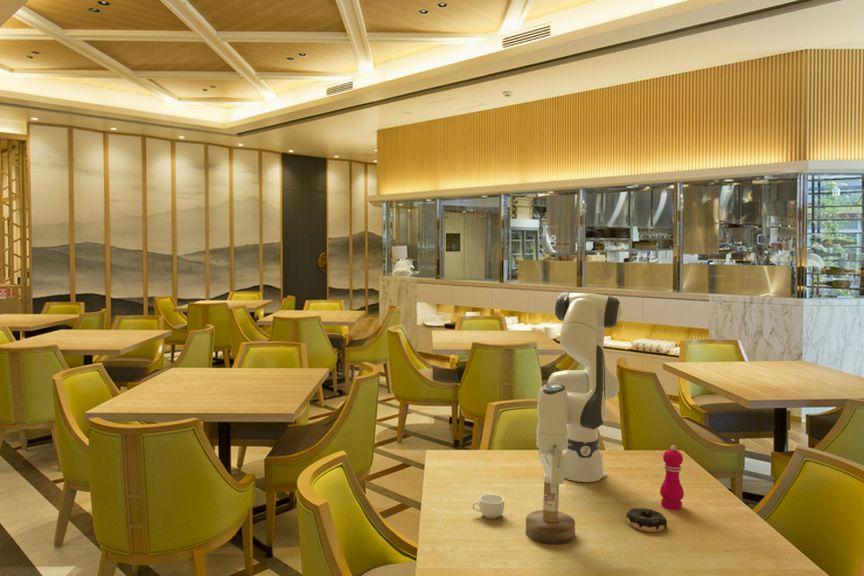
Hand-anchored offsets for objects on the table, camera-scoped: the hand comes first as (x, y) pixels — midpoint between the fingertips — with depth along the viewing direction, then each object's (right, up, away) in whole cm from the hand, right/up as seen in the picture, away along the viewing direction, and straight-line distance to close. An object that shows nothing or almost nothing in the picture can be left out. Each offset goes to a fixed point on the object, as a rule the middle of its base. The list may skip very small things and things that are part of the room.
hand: (551, 487), depth 183 cm
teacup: (-17, -13, +13) cm, 25 cm away
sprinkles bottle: (0, -10, +1) cm, 10 cm away
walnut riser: (0, -14, +1) cm, 14 cm away
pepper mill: (+43, -13, +21) cm, 50 cm away
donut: (+30, -14, +7) cm, 34 cm away
